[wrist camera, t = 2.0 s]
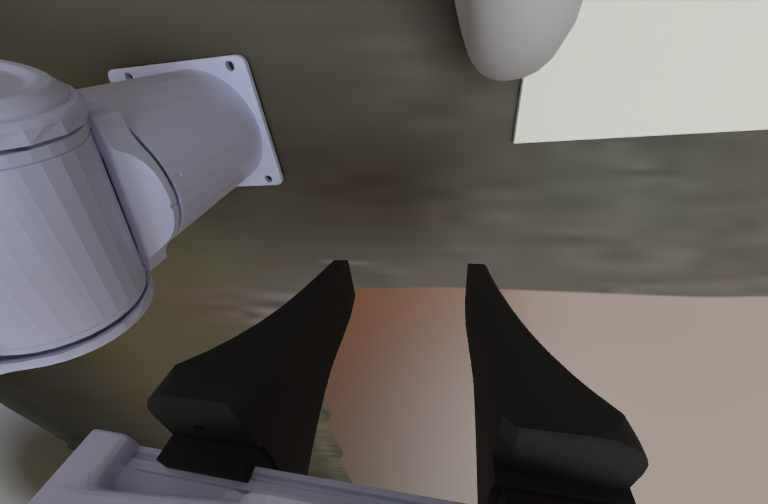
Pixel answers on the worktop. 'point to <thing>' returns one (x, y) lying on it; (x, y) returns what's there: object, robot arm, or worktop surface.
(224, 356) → the robot arm
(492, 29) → the donut
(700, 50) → the mat
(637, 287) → the worktop surface
